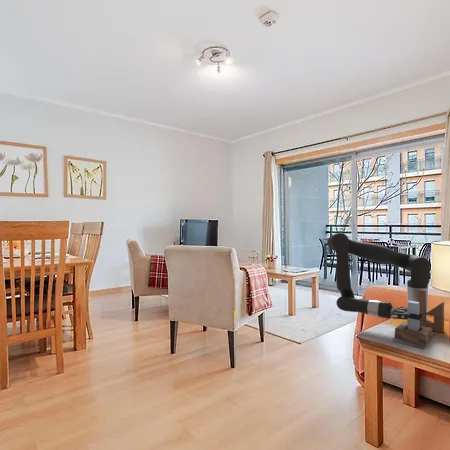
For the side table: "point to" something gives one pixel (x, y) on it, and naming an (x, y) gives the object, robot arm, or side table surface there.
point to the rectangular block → (414, 309)
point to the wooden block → (431, 314)
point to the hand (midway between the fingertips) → (420, 316)
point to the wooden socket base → (413, 336)
